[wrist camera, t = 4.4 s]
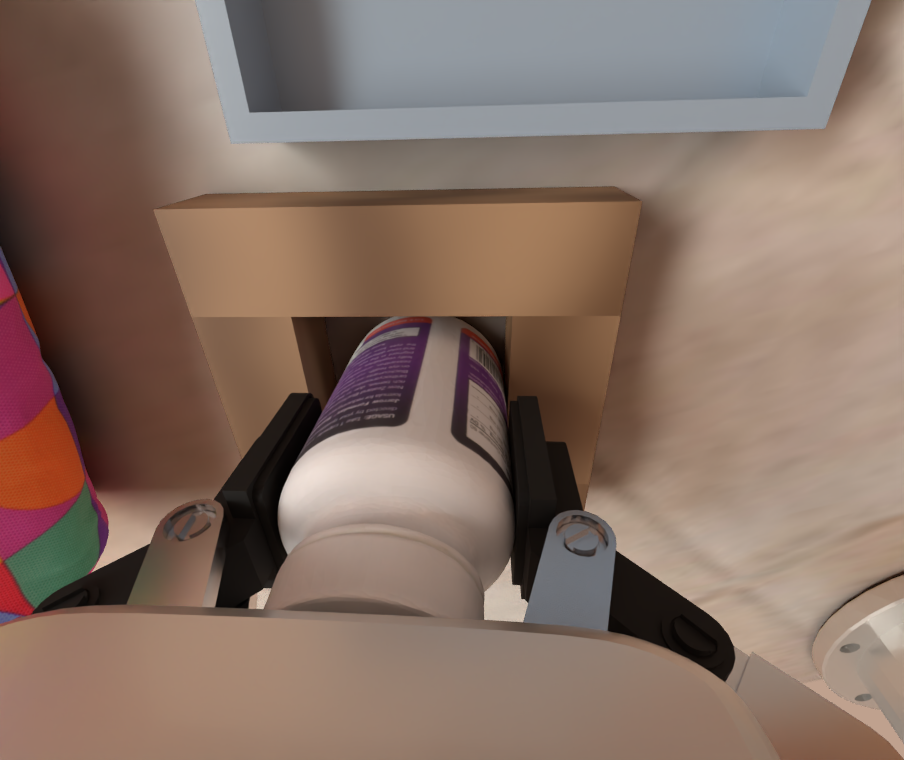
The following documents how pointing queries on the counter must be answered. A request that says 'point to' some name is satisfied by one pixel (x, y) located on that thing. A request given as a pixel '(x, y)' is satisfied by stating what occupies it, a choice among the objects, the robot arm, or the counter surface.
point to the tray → (524, 66)
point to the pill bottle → (403, 480)
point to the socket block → (407, 288)
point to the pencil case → (39, 472)
